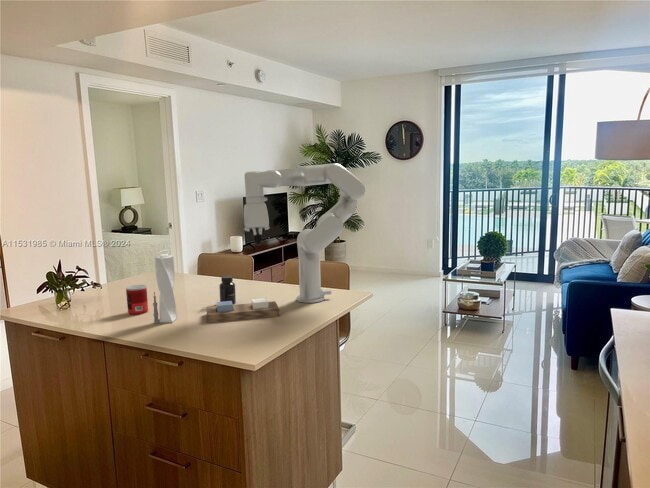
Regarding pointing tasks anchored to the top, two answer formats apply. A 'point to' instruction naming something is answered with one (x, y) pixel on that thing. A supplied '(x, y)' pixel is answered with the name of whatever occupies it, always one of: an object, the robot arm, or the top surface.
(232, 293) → the supplement bottle
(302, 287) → the robot arm
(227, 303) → the light blue square block
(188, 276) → the top surface
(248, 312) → the wooden board
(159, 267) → the skyscraper
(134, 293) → the canned food
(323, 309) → the top surface
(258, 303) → the white square block
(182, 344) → the top surface
